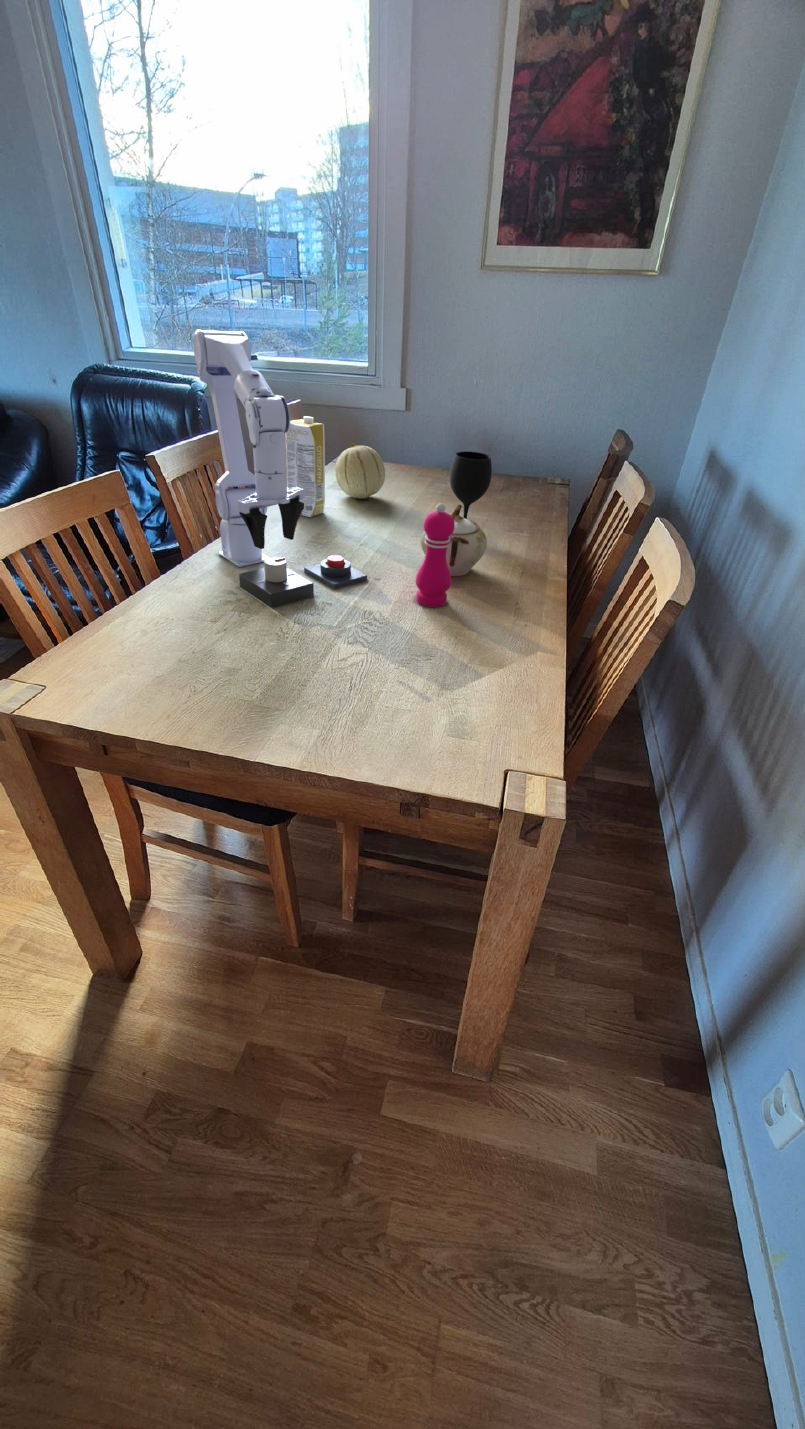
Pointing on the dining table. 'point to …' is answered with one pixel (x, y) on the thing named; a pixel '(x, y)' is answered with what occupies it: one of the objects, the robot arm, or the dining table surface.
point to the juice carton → (307, 463)
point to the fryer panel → (276, 587)
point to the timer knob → (275, 569)
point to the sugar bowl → (462, 545)
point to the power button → (335, 561)
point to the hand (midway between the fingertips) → (274, 542)
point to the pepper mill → (435, 559)
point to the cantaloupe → (360, 471)
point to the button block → (335, 574)
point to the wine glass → (470, 477)
